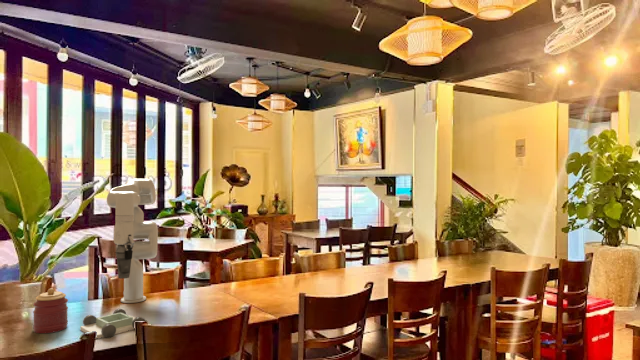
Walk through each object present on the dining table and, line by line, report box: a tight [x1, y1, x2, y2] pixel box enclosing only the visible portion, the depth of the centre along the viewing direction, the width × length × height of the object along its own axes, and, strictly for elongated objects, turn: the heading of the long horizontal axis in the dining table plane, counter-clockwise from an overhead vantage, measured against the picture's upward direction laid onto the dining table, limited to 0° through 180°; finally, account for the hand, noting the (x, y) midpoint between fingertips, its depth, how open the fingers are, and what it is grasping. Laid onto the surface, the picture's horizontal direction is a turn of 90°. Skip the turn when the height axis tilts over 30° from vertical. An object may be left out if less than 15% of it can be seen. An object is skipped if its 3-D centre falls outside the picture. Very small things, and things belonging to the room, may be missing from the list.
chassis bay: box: [80, 308, 146, 339], centre depth 195 cm, size 21×22×5 cm
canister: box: [32, 287, 69, 334], centre depth 193 cm, size 13×13×18 cm
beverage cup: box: [115, 243, 133, 280], centre depth 202 cm, size 7×7×20 cm
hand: (124, 258), depth 202 cm, fingers closed on beverage cup, 7 cm apart
